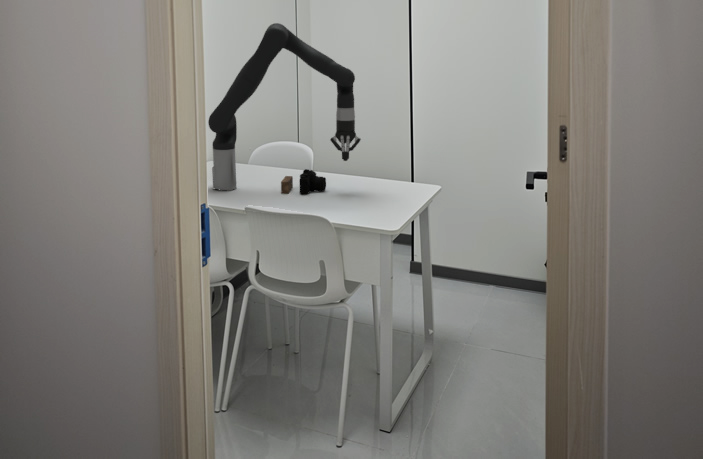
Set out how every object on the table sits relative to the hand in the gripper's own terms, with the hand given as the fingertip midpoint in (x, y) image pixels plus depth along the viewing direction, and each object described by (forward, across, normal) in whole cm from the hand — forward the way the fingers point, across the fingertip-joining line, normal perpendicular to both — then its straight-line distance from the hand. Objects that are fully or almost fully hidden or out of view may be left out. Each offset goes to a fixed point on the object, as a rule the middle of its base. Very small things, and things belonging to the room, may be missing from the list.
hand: (345, 160), depth 304 cm
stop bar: (+13, -25, 0) cm, 28 cm away
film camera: (+14, -14, 0) cm, 19 cm away
